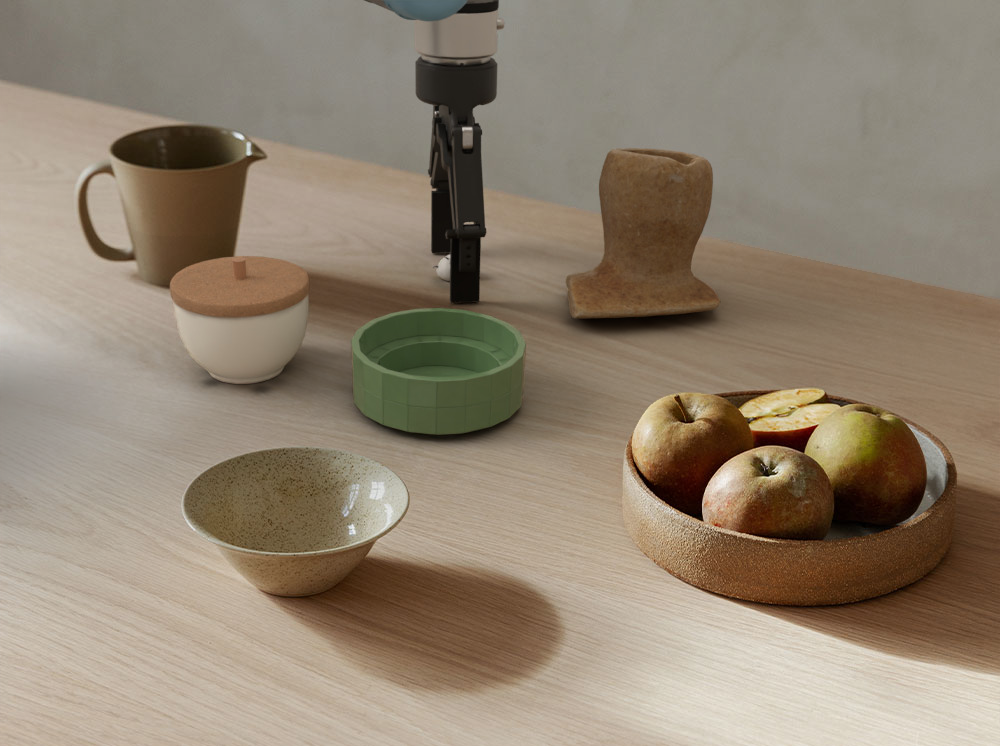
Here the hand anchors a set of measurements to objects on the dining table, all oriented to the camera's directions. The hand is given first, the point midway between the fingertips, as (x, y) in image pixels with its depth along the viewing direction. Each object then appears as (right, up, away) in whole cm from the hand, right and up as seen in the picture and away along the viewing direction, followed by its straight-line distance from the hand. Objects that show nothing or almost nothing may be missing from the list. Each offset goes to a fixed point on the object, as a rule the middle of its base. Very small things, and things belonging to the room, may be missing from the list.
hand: (453, 275), depth 110 cm
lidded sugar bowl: (-16, -9, -20) cm, 27 cm away
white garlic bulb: (0, 0, 0) cm, 0 cm away
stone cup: (+17, -3, -5) cm, 18 cm away
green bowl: (0, -12, -24) cm, 27 cm away
